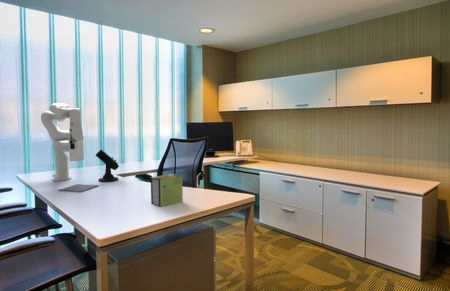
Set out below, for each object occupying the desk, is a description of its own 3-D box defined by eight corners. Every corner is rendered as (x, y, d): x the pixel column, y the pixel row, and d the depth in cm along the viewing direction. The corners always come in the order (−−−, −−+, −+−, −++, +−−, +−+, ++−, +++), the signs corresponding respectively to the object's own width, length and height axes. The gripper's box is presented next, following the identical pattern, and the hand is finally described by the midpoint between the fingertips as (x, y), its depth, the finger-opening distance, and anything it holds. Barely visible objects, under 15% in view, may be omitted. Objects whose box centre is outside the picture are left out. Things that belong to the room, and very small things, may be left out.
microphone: (96, 179, 242) (95, 149, 239) (118, 177, 249) (117, 148, 247) (96, 183, 228) (95, 150, 226) (120, 181, 235) (119, 149, 233)
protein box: (183, 201, 176) (182, 175, 174) (160, 207, 165) (159, 179, 164) (172, 198, 183) (172, 173, 182) (150, 203, 172) (150, 177, 171)
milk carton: (83, 160, 228) (83, 135, 226) (78, 161, 221) (77, 136, 219) (75, 159, 229) (74, 135, 227) (69, 161, 222) (68, 135, 220)
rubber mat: (58, 190, 203) (58, 189, 203) (77, 185, 220) (76, 184, 220) (81, 192, 199) (81, 191, 199) (98, 186, 217) (98, 185, 217)
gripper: (71, 125, 213) (72, 149, 215) (87, 124, 230) (88, 147, 232) (62, 125, 214) (63, 149, 216) (78, 124, 231) (79, 147, 233)
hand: (76, 148), depth 224 cm, fingers closed on milk carton, 7 cm apart
